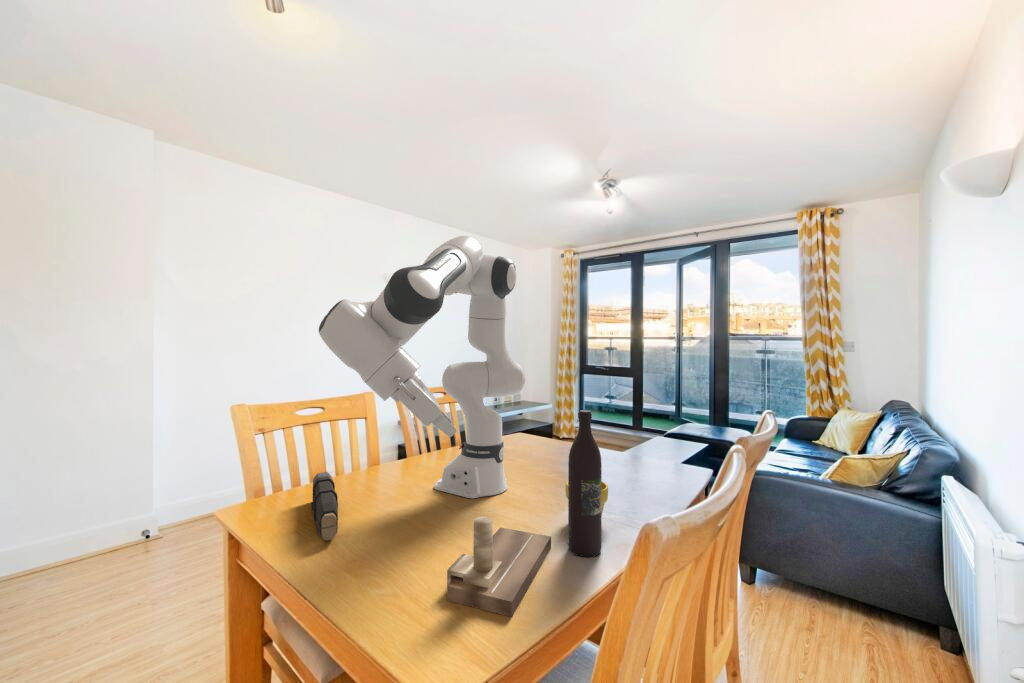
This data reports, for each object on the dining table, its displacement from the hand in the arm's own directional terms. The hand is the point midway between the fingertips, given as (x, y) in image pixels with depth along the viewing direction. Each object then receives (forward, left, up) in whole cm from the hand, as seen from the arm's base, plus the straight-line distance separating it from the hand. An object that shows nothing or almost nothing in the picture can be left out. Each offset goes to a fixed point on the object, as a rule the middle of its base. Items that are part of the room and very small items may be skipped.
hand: (451, 429), depth 75 cm
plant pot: (+18, +35, -29) cm, 49 cm away
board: (+7, +8, -29) cm, 31 cm away
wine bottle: (+20, +22, -29) cm, 42 cm away
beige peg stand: (+4, +1, -28) cm, 29 cm away
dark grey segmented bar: (-43, +13, -29) cm, 54 cm away
